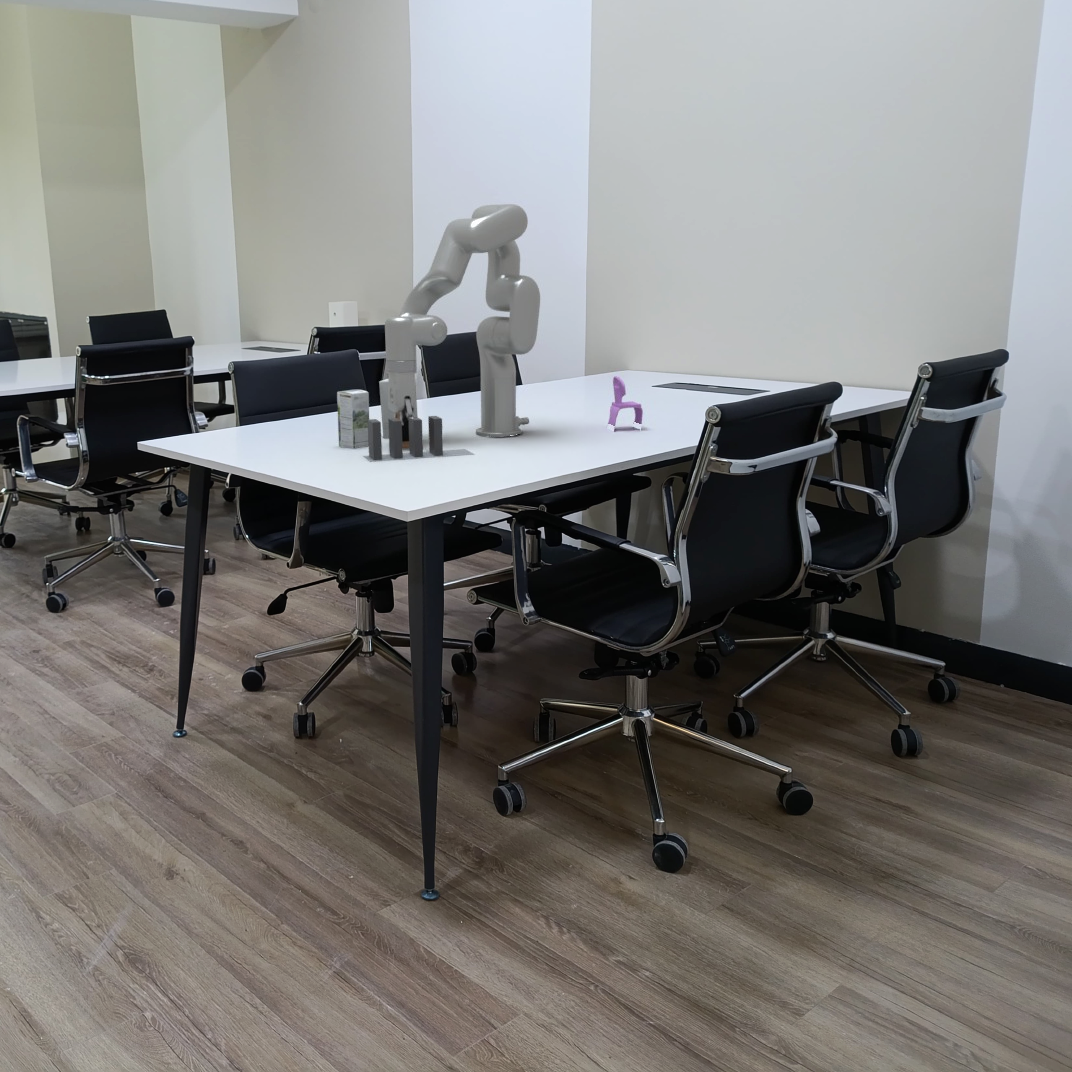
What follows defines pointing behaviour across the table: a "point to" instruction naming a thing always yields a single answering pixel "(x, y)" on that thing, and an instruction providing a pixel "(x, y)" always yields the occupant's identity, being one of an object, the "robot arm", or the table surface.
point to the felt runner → (425, 455)
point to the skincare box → (384, 406)
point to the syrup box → (353, 418)
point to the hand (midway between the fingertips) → (403, 438)
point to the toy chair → (622, 403)
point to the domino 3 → (406, 443)
